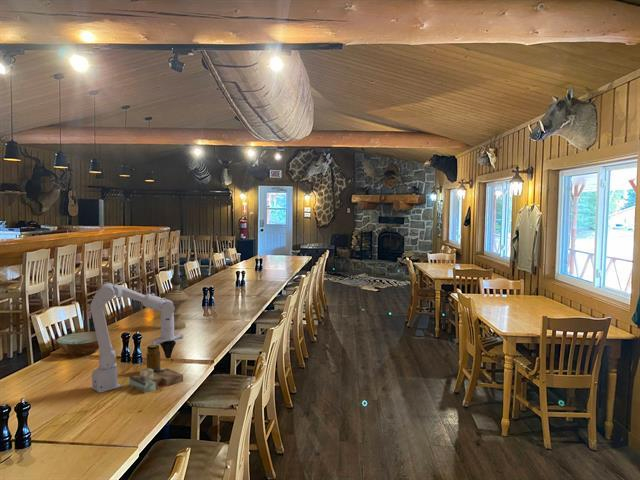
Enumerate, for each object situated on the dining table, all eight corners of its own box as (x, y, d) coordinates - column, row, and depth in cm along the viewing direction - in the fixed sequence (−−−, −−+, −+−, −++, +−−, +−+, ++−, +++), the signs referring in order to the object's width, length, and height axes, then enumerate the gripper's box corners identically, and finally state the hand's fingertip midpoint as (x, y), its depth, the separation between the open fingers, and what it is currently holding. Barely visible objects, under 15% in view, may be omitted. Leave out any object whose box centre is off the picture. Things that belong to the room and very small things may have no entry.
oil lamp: (184, 330, 299) (183, 266, 297) (160, 330, 300) (159, 266, 297) (191, 324, 314) (190, 264, 312) (169, 324, 315) (168, 264, 312)
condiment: (148, 368, 228) (147, 344, 227) (166, 368, 228) (166, 343, 228) (144, 374, 220) (143, 348, 220) (163, 373, 221) (162, 348, 220)
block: (144, 381, 202) (144, 372, 202) (140, 379, 205) (139, 370, 205) (153, 379, 205) (153, 369, 205) (148, 376, 208) (148, 367, 208)
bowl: (88, 361, 239) (88, 345, 239) (44, 357, 244) (44, 342, 244) (119, 346, 264) (118, 332, 263) (79, 344, 269) (78, 330, 268)
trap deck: (144, 393, 197) (144, 383, 197) (129, 385, 206) (129, 375, 206) (183, 381, 211) (182, 372, 211) (167, 374, 220) (167, 365, 219)
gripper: (157, 332, 203) (157, 363, 204) (186, 325, 214) (187, 355, 215) (148, 329, 208) (149, 360, 209) (178, 323, 219) (178, 352, 220)
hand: (168, 357), depth 212 cm, fingers closed
